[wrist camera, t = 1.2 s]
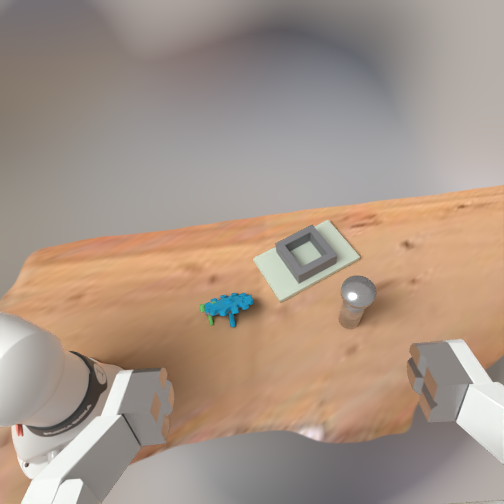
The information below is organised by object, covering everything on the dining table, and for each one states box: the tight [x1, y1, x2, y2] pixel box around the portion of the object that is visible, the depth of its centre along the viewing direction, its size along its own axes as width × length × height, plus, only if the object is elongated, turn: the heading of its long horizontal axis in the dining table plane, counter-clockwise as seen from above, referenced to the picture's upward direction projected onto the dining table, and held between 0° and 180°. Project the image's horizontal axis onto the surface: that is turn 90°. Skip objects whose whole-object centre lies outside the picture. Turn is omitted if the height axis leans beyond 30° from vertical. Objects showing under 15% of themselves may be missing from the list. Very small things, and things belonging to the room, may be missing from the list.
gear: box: [200, 293, 254, 327], centre depth 70 cm, size 11×6×10 cm
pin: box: [339, 276, 376, 329], centre depth 63 cm, size 6×6×13 cm
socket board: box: [253, 220, 360, 303], centre depth 75 cm, size 20×12×5 cm, turn 118°
